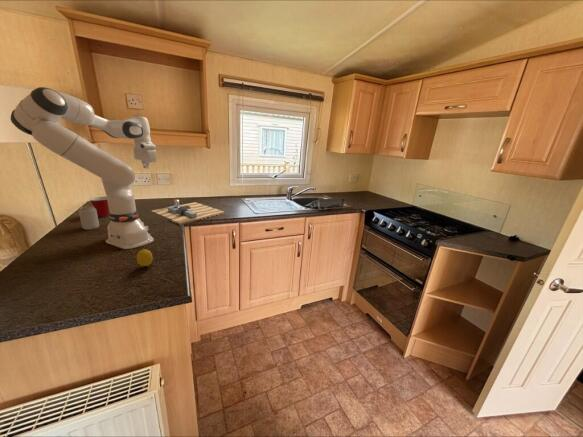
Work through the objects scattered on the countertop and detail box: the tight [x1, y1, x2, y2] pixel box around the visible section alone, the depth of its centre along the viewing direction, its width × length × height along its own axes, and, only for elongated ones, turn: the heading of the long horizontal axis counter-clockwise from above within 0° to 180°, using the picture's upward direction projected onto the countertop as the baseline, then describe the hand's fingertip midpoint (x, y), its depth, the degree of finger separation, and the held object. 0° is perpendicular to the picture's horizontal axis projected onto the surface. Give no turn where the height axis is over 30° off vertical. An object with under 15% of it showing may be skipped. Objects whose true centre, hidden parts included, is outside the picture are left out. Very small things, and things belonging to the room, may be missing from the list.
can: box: [78, 205, 100, 231], centre depth 132 cm, size 8×8×12 cm
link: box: [167, 204, 197, 218], centre depth 162 cm, size 24×9×2 cm, turn 54°
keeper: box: [178, 206, 190, 215], centre depth 161 cm, size 4×7×5 cm, turn 145°
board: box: [152, 201, 225, 226], centre depth 169 cm, size 34×34×2 cm
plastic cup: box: [89, 195, 109, 218], centre depth 151 cm, size 11×11×12 cm
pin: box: [173, 198, 181, 208], centre depth 166 cm, size 3×3×8 cm
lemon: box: [136, 248, 153, 267], centre depth 99 cm, size 6×6×8 cm
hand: (146, 168), depth 149 cm, fingers closed
